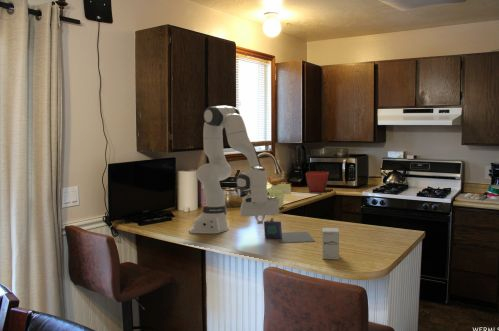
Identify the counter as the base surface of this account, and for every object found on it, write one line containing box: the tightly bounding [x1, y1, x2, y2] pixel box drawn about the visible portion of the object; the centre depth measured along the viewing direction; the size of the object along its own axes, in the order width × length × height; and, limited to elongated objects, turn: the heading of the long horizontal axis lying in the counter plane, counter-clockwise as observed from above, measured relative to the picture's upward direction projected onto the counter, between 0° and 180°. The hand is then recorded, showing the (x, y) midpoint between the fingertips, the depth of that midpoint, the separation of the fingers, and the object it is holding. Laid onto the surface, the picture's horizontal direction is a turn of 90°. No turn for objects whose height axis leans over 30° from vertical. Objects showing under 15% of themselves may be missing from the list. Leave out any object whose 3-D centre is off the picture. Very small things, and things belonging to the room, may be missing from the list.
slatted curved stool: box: [267, 180, 292, 209], centre depth 320 cm, size 30×16×18 cm, turn 31°
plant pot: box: [305, 171, 330, 193], centre depth 388 cm, size 19×19×17 cm
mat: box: [277, 231, 316, 244], centre depth 230 cm, size 18×20×1 cm
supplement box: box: [321, 227, 340, 260], centre depth 194 cm, size 7×7×13 cm
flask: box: [263, 217, 283, 240], centre depth 229 cm, size 9×3×11 cm, turn 74°
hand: (260, 223), depth 228 cm, fingers closed
